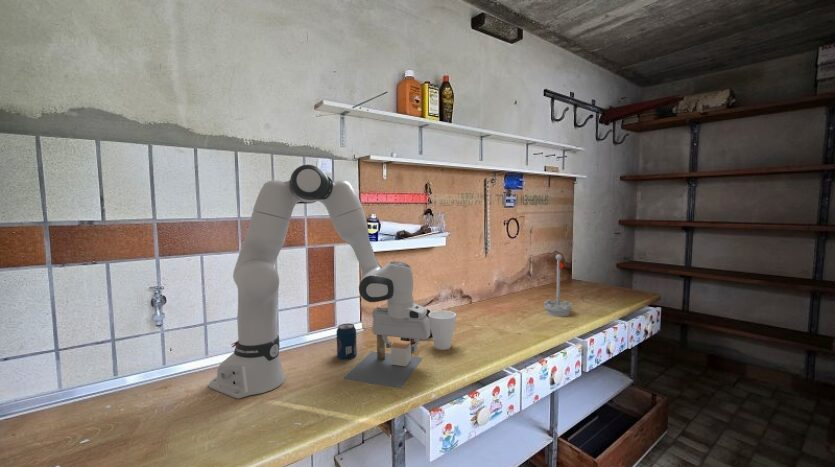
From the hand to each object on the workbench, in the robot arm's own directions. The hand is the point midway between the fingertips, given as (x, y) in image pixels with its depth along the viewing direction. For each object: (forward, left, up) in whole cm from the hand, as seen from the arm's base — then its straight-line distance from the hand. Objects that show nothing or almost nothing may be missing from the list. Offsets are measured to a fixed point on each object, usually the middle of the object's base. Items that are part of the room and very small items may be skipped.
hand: (401, 349), depth 121 cm
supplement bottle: (-2, +13, -6) cm, 14 cm away
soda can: (-21, 0, -6) cm, 22 cm away
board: (-4, -5, -6) cm, 9 cm away
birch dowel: (-8, +1, -5) cm, 9 cm away
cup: (+10, +18, -6) cm, 21 cm away
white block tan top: (0, 0, -5) cm, 5 cm away
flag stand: (+55, +78, -6) cm, 96 cm away
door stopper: (-1, +29, -6) cm, 30 cm away
